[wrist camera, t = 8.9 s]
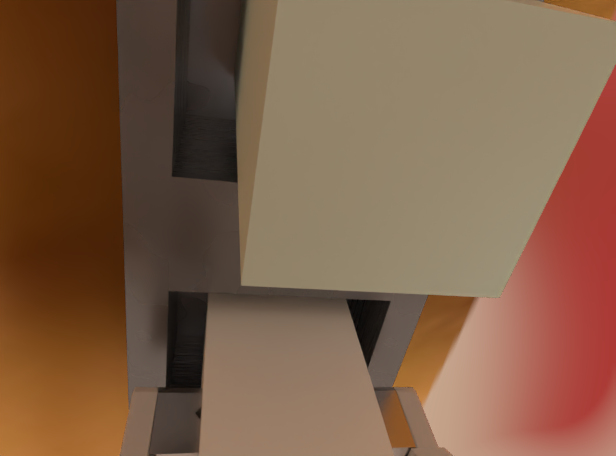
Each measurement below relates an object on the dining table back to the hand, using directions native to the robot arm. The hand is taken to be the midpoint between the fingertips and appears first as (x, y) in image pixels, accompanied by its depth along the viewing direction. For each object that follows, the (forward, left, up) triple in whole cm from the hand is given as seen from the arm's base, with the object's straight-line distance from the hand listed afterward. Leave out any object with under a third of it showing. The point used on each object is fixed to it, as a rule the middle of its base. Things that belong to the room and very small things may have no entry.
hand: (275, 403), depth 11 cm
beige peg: (-7, +4, -5) cm, 9 cm away
